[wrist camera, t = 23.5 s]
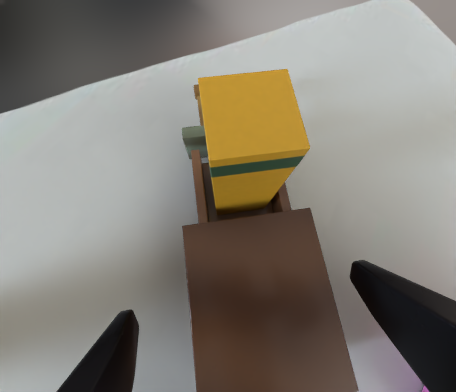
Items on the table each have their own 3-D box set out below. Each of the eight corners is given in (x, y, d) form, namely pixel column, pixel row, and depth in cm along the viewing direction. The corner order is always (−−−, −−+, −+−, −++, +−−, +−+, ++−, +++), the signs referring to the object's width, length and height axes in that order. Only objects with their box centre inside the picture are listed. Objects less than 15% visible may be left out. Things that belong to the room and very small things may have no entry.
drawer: (184, 109, 26) (177, 81, 22) (258, 101, 27) (265, 72, 23) (199, 252, 21) (193, 249, 17) (290, 238, 22) (305, 233, 18)
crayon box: (264, 208, 22) (311, 148, 10) (216, 215, 21) (208, 161, 10) (255, 165, 23) (288, 68, 11) (210, 170, 23) (197, 77, 11)
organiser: (192, 234, 23) (182, 225, 17) (289, 220, 23) (310, 207, 18) (206, 375, 19) (199, 423, 13) (320, 354, 20) (359, 391, 14)
